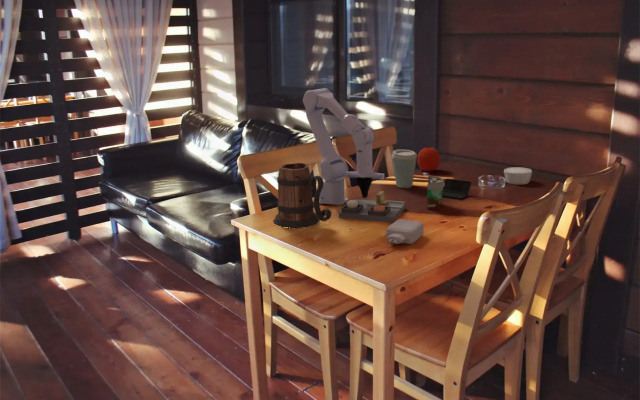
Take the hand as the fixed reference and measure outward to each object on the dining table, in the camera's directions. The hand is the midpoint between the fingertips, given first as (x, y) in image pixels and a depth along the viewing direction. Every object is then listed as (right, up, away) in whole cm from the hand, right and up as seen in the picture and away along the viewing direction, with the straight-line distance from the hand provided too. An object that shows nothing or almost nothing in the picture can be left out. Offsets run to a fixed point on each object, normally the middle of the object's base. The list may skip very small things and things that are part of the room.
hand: (365, 197), depth 219 cm
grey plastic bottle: (+9, -14, -33) cm, 37 cm away
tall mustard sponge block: (+6, -2, -2) cm, 7 cm away
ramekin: (+67, +6, +29) cm, 73 cm away
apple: (+33, +12, +53) cm, 64 cm away
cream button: (-5, -4, -8) cm, 10 cm away
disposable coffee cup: (+19, +5, +29) cm, 34 cm away
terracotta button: (+4, -6, -11) cm, 13 cm away
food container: (+27, -3, +2) cm, 27 cm away
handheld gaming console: (+36, 0, +14) cm, 38 cm away
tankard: (-23, -9, -12) cm, 27 cm away
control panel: (+2, -6, -5) cm, 8 cm away
